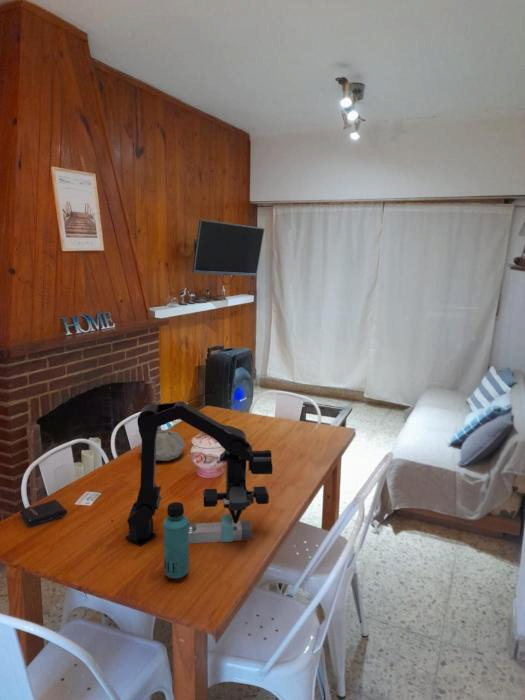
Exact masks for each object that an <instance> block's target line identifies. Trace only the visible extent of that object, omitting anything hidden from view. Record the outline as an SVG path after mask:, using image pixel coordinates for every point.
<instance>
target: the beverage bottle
mask: <svg viewBox="0 0 525 700" xmlns="http://www.w3.org/2000/svg"><path fill="white" fill-rule="evenodd" d="M184 513H185V509H184V504H183V503H181V502H178V501H175V502H171V503H169V504H168V505H167V511H166V515H167V517H165V518H164V520H163V521H162V522H163V523H162V524H163V535H162V536H163V537H162V538H163V544H162V545H163V569H164V573H165V576H167V577H168V578H170V579H180V578H183V577H185V576H186V575H187V574H188V572H189V571H190V550H189V549H190V548H189V544H188V524H189V518H188V517H187V516H185V515H184Z"/></svg>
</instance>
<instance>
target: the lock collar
mask: <svg viewBox="0 0 525 700" xmlns="http://www.w3.org/2000/svg"><path fill="white" fill-rule="evenodd" d="M220 522H221V525H222V541H221V542H222V543H231V542H233V523H232V522H233V518H232V515H231V513H223V514H222V513H221V514H220Z"/></svg>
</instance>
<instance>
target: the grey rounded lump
mask: <svg viewBox="0 0 525 700" xmlns="http://www.w3.org/2000/svg"><path fill="white" fill-rule="evenodd" d="M185 443H186V440H185V439H184V438H183V437H182V435H181V434H179V433H178V432H176V431H175V430H174V431H173V430H167V429H165V430H164V429H161V430H159V429H158V433H157V437H156V462H157V461H161V462H166V461H171V460H174V459H176V458H178V457H180V456H181V455H182V454H183V452H184V450H185V448H186V447H185ZM139 451H140V453H141V452H142V441H141V442H140V445H139Z"/></svg>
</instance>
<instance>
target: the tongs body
mask: <svg viewBox="0 0 525 700" xmlns="http://www.w3.org/2000/svg"><path fill="white" fill-rule="evenodd" d="M195 524H196V523H195V522H194V523H193V522H191V523H189V522H188V545H189V544H204V543H218V542H222V526H220V527H204V528H196V525H195ZM249 539H250V540H252V539H253V528H252V524H251V525H236V526H233V541H246V540H249ZM233 541H232V542H233Z"/></svg>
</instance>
